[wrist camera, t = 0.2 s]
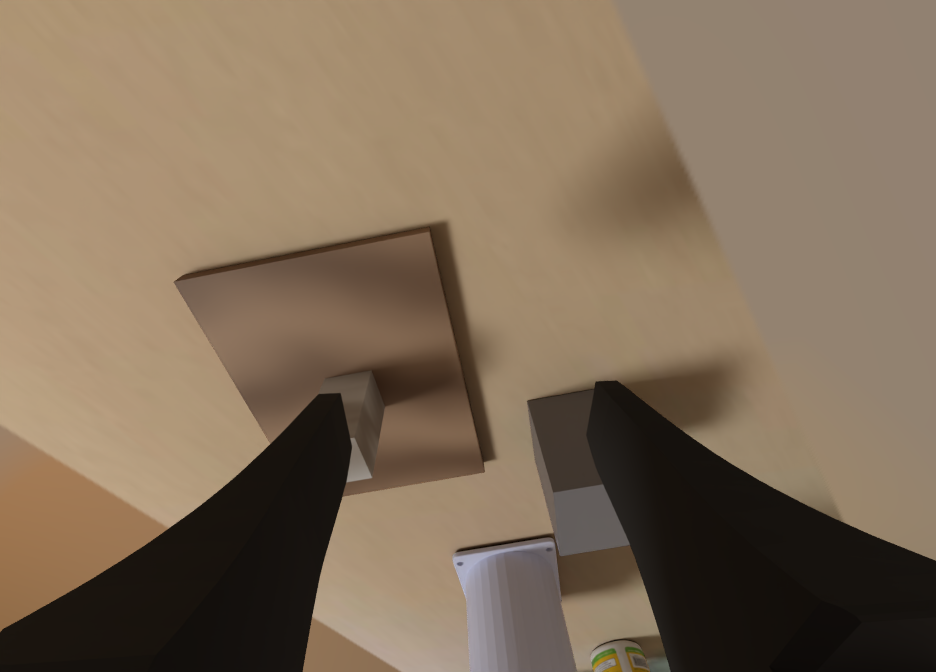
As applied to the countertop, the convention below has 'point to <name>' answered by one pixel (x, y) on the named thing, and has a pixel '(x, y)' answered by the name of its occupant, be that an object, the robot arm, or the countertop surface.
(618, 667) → the supplement bottle
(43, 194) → the countertop surface
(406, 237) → the flat brown plate
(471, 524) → the countertop surface
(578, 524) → the gray rectangular prism
